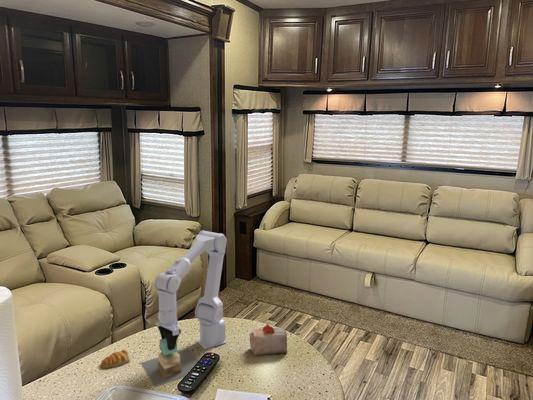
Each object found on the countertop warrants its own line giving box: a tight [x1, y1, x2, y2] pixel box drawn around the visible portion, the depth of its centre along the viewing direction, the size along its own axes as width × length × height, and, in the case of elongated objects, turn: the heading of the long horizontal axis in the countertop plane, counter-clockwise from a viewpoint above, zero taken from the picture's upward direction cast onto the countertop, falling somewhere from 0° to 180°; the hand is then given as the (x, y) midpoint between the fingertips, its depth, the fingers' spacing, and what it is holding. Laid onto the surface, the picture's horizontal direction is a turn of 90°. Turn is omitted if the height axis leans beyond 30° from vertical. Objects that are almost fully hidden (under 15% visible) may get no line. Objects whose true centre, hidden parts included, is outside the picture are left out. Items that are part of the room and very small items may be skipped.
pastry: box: [100, 349, 131, 369], centre depth 143 cm, size 9×7×4 cm
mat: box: [140, 348, 200, 388], centre depth 142 cm, size 18×16×1 cm
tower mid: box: [158, 351, 180, 369], centre depth 138 cm, size 6×6×3 cm
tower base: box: [158, 361, 181, 378], centre depth 139 cm, size 6×6×3 cm
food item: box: [249, 323, 288, 356], centre depth 152 cm, size 14×8×10 cm, turn 101°
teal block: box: [159, 338, 178, 355], centre depth 138 cm, size 4×4×4 cm
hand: (168, 345), depth 138 cm, fingers closed on teal block, 4 cm apart
